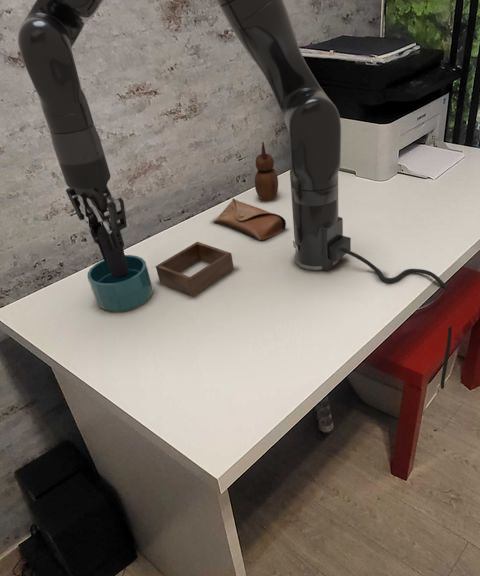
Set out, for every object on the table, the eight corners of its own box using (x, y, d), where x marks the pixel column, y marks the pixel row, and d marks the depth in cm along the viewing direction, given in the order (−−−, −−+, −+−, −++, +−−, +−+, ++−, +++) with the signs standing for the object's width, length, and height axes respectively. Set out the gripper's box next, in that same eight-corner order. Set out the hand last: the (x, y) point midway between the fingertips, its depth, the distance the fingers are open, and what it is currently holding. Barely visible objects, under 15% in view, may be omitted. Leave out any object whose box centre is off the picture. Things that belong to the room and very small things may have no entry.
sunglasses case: (210, 220, 130) (217, 193, 128) (230, 225, 136) (237, 199, 134) (262, 241, 120) (270, 212, 118) (281, 244, 126) (289, 217, 124)
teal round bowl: (164, 291, 107) (157, 264, 103) (121, 319, 101) (111, 291, 96) (129, 276, 113) (121, 249, 109) (86, 302, 106) (75, 274, 102)
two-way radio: (129, 278, 101) (104, 205, 92) (105, 283, 101) (79, 209, 92) (129, 265, 106) (106, 193, 96) (107, 269, 105) (82, 197, 96)
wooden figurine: (275, 203, 137) (270, 144, 127) (254, 202, 138) (247, 144, 128) (281, 192, 142) (276, 135, 132) (260, 192, 143) (254, 135, 133)
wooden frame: (234, 269, 112) (231, 253, 110) (193, 296, 105) (189, 279, 102) (200, 257, 117) (197, 241, 115) (159, 282, 110) (155, 266, 108)
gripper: (125, 154, 87) (149, 246, 98) (74, 141, 94) (102, 228, 105) (87, 169, 83) (117, 264, 94) (37, 155, 90) (70, 244, 101)
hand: (109, 245), depth 99 cm, fingers closed on two-way radio, 5 cm apart
